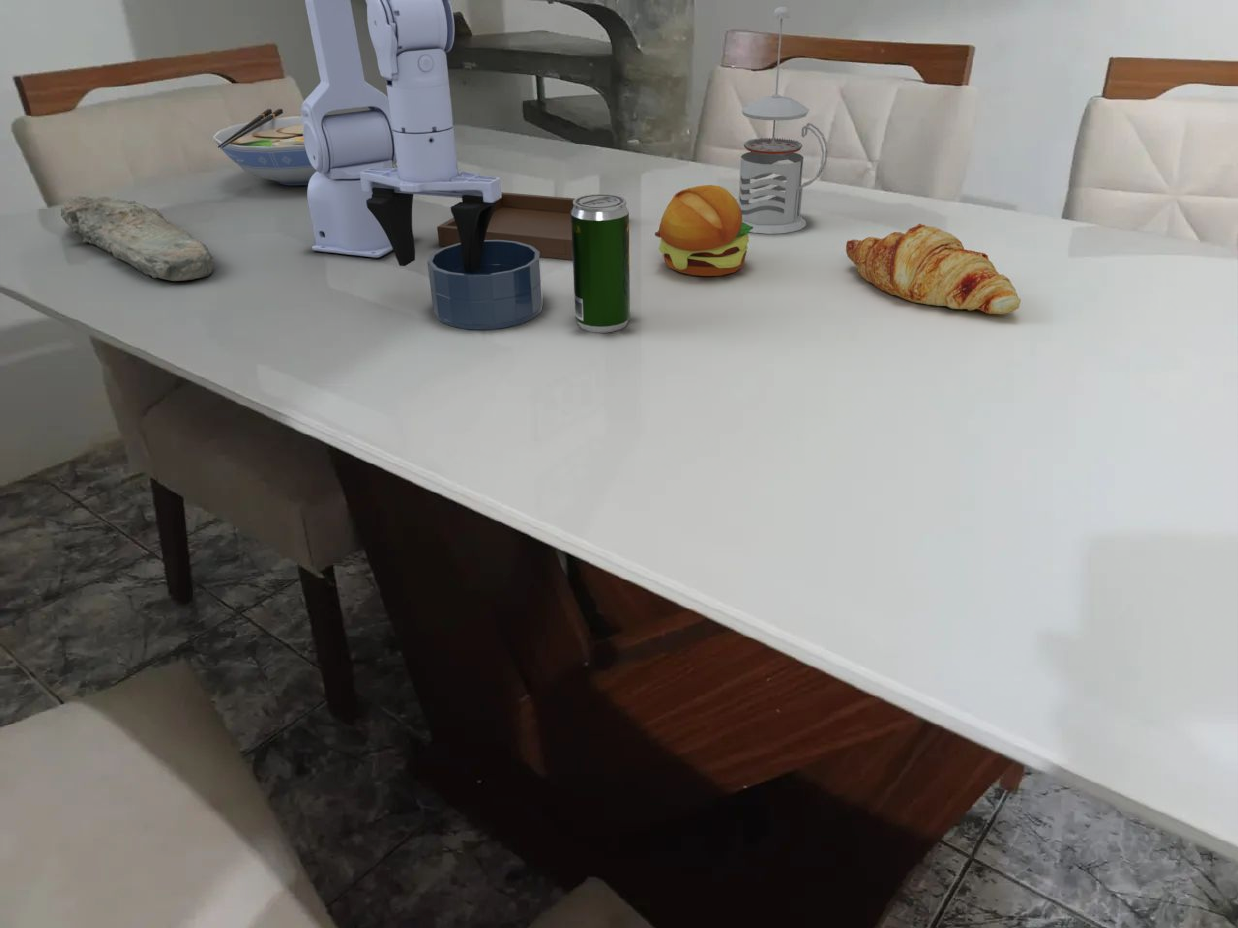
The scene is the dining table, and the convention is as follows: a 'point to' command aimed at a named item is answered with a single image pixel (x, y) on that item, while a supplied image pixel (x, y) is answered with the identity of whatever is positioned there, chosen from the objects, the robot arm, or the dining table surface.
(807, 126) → the french press
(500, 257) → the blue bowl
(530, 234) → the serving tray
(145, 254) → the elongated rock
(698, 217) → the cheeseburger
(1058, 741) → the dining table surface
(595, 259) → the beer can
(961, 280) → the croissant
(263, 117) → the ramen bowl
